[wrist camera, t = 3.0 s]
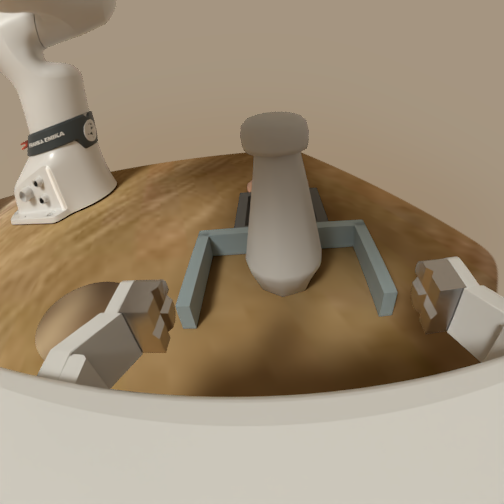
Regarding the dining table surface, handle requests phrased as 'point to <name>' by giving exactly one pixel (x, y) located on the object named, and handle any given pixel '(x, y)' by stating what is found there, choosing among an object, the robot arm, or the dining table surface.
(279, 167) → the salt shaker
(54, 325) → the cork trivet
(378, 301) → the cubby bay
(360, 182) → the dining table surface
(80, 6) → the robot arm
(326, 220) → the hole frame
